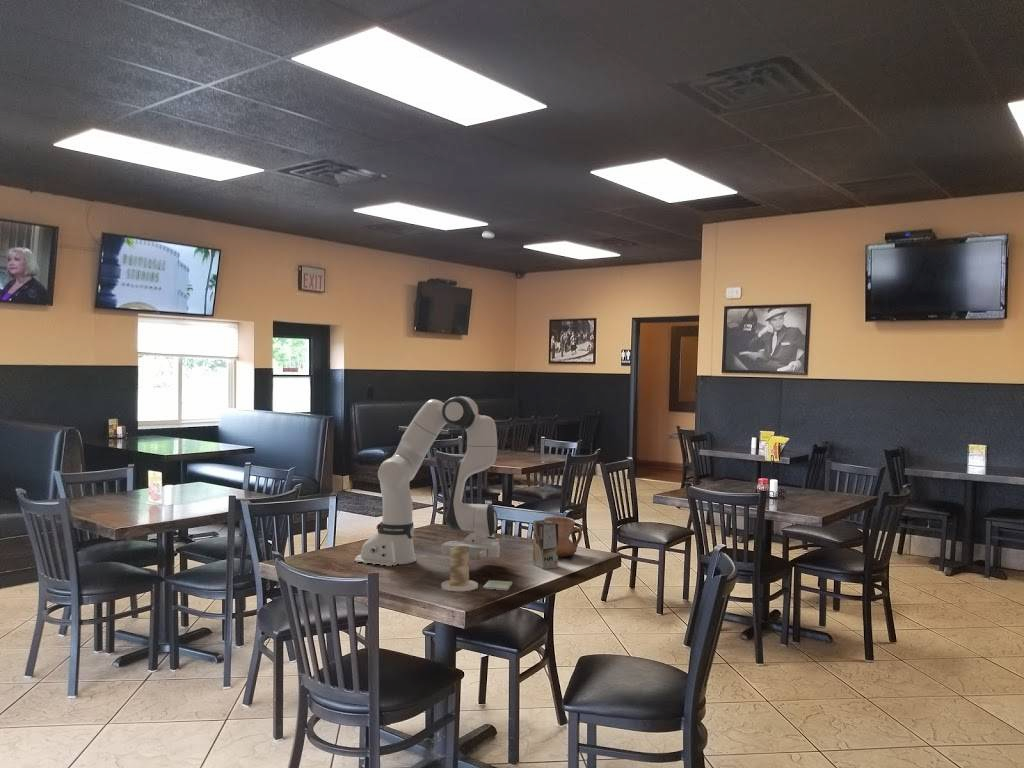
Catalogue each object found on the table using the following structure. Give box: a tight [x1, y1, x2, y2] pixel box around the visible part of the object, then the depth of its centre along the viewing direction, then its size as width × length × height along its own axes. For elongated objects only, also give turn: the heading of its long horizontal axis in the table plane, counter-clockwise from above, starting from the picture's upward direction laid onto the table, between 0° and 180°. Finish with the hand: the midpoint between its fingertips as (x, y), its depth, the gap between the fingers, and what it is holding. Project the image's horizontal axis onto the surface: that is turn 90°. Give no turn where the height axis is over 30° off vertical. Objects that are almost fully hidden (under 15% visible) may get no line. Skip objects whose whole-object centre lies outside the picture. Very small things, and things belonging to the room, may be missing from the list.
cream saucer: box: [440, 579, 479, 592], centre depth 248 cm, size 12×12×1 cm
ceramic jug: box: [542, 516, 583, 558], centre depth 296 cm, size 18×14×14 cm
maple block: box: [449, 545, 470, 587], centre depth 248 cm, size 5×5×12 cm
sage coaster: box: [483, 579, 513, 591], centre depth 250 cm, size 8×8×1 cm
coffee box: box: [532, 519, 559, 570], centre depth 279 cm, size 9×6×16 cm
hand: (465, 554), depth 256 cm, fingers open, 8 cm apart
